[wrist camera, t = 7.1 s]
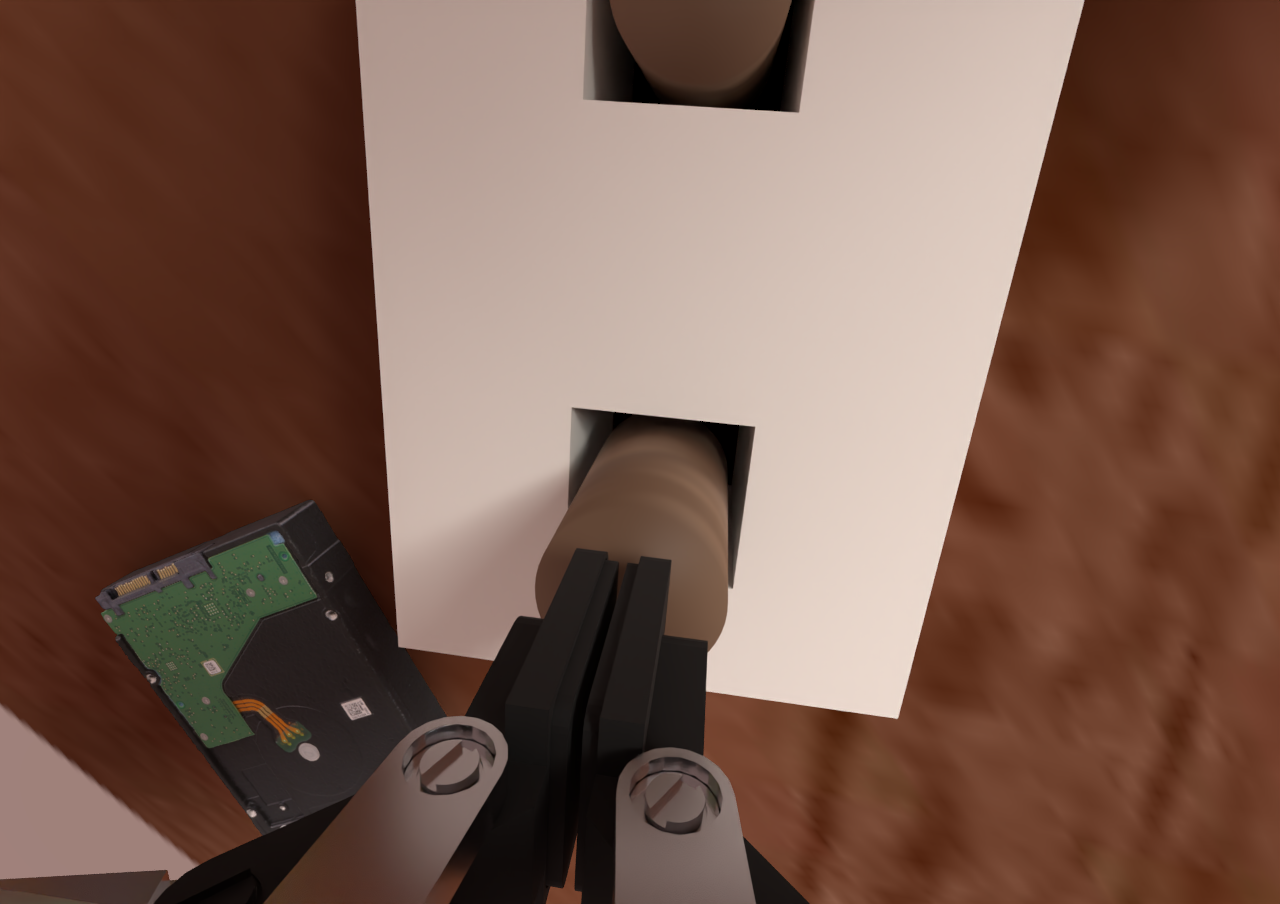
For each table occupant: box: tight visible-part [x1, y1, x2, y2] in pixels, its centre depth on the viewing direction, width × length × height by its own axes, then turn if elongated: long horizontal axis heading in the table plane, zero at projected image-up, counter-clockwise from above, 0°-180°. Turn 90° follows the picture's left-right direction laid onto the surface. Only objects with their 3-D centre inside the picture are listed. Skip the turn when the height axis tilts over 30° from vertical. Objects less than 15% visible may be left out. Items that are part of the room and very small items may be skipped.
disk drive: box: [95, 500, 447, 835], centre depth 28 cm, size 10×3×15 cm
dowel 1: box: [610, 0, 792, 110], centre depth 16 cm, size 4×4×6 cm
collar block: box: [356, 0, 1084, 719], centre depth 18 cm, size 14×22×7 cm, turn 176°
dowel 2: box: [535, 414, 728, 652], centre depth 15 cm, size 4×4×6 cm
